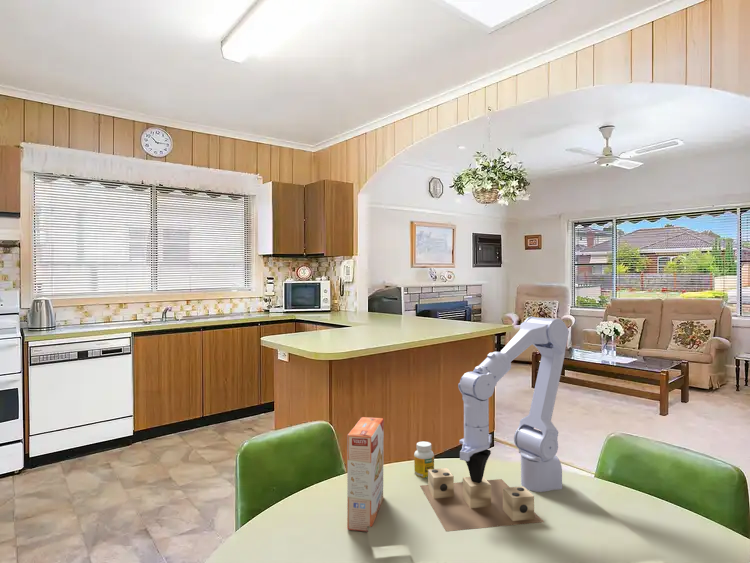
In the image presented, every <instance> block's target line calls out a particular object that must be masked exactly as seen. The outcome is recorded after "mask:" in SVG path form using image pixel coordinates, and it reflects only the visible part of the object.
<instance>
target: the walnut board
mask: <svg viewBox="0 0 750 563" xmlns="http://www.w3.org/2000/svg"><path fill="white" fill-rule="evenodd" d="M486 480H487V481H488V482H489V483H490V484H491V506H490V507H479V508H470V507H469V506H468V504H467V503H466V501H465V500H464V499H463V481H460V482H454V497H447V498H435V499H434V498H433V497H432V495H431V493H430V492H429V490H428V484H422V485H419V486H420V489H421V490H422V492H423V494H424V496H425V497H426V499H427V500H428V502H429V504H430V506H431V508H432V510H433V512H434V513H435V515H436V517H437V519H438V520H439V522H440V524H441V525H442V528H443V529H444V531H445V532H453V531H464V530H466V531H467V530H476V529H487V528H497V527H507V526H519V525H520V526H521V525H529V524H539V523H545V521H544V520H543V519H542V518H541V517H540V516H539V515H538V514H537V513H536V512H535V511H534V519H529V520H519V521H512V520H511V518H510V517H509V516H508V515H507V514H506V513H505V512H504V510H503V488H509V487H510V486H509V485H508V484H507V483H506V482H505V481H504V480H503V479H502V478H501V479H500V478H498V479H497V478H496V479H486Z"/></svg>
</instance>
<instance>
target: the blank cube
mask: <svg viewBox="0 0 750 563" xmlns="http://www.w3.org/2000/svg"><path fill="white" fill-rule="evenodd" d="M487 480H488V479H486V477H485V476H483V479H482V481H481V482H480V483H477V482H473V481H471V477H470V476H465V477H464V476H463V477H462V482H463V499H464V500H465V501H466V503H467V504H468V506H469V507H470V508H479V507H490V506H491V484H490V483H489V482H488V481H487Z"/></svg>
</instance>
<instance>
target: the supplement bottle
mask: <svg viewBox="0 0 750 563" xmlns="http://www.w3.org/2000/svg"><path fill="white" fill-rule="evenodd" d="M413 460H414V461H413V463H414V465H413V466H414V476H416V477H418V478H422V479H424V478H426V479H428V469H435V454H434V452H433V450H432V443H431V442H430V441H418V442H416V450H415V451H414V454H413Z"/></svg>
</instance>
